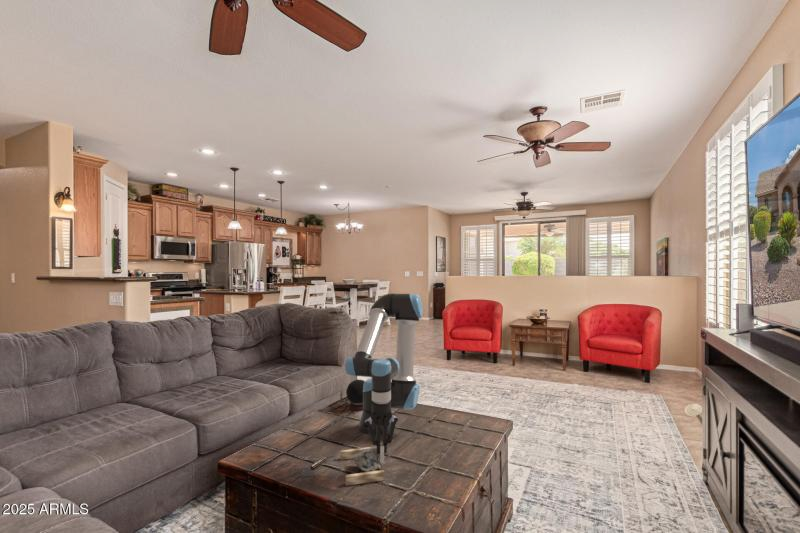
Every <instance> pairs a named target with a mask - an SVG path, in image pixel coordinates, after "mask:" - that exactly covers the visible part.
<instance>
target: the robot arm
mask: <svg viewBox="0 0 800 533" xmlns="http://www.w3.org/2000/svg"><path fill="white" fill-rule="evenodd" d="M423 315H424V308H423V302H422V299H421V296H420V295H419V294H416V293H386V294H383V295H382V296H381V297H379V298H378V299H377V300H376V301H375V302H374V303H373V304H372V305H371V307H370V310H369V311H368V316H369V317H368V321H367V323H366V325H365V328H364V331H363V334H362V336H361V338H360V341H359V344H358V346H357V349H356V352H355V354H354V355H353V356H349V357H347V358H346V359H345V364H344V365H345V366H344V370H345V374H346V375H348V376H354V377H366V378H369V379H366V380H364V381H365V382H364V384H363V411H362V413H361V415H360V416H361V417H360V420H359V426H358V428H359V430H360V431H361V432H362V433H365V434H368V435H369V436H370V440H371V443H372V445H373V446H375V447H376V451H377V454H378V455H379V457H378V461H379V462H380V463H381V464H385V454H387V453H388V452H387V451H388V444H391V443H392V441H393V437H394V432H395V427H396V424H397V422H398V421H399V420H398V419H399V418H398V417H397V416H396V415H393V413H392V409H398V410H403V411H405V410H410V411H411V410H414V409H415V408H416V406H417V404H418V401H419V396H420V385H419V383H417V378H415V376H414V366H415V364H414V362H415V345H416V344H415V342H416V327H417V325H418V323H419V322H420V319H423ZM389 318H394V319H395V320H394V321H395V322H396V323H397V337H396V338H397V339H396V354H395V355H396V356H395V358H394V357H387V358H385V359H383V358H373V356H374V353H375V350H376V348H377V345H378V341H379V339H380V337H381V334H382V330H383V328H384V324H385V322H387V321H388V319H389ZM381 434H382V442H381Z"/></svg>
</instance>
